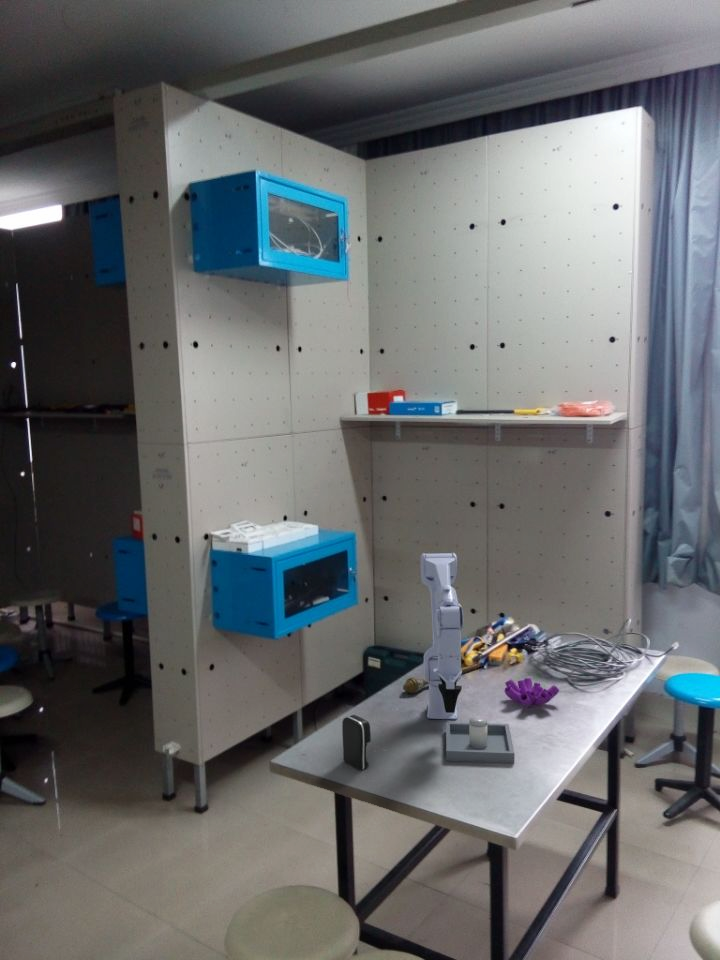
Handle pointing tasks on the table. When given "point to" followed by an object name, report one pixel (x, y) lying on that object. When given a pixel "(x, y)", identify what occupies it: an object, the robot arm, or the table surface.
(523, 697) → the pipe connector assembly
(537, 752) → the table surface
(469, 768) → the table surface
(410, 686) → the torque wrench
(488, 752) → the tray
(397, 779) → the table surface
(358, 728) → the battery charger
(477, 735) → the cylinder
